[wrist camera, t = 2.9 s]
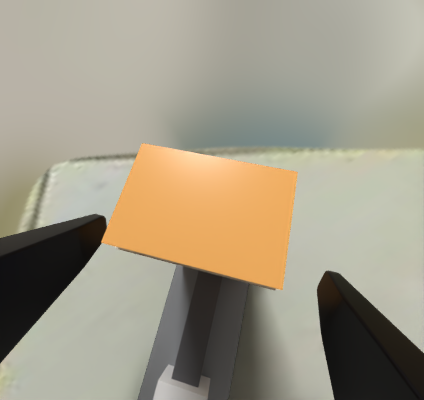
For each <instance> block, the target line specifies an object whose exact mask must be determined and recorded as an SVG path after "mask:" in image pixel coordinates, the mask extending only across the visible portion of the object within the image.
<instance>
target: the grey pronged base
mask: <svg viewBox="0 0 424 400" xmlns="http://www.w3.org/2000/svg"><path fill="white" fill-rule="evenodd" d="M248 286H249V283H245V282H241V281H237V280H234V279H230V278H226V277H222V276H218V275H215V274H211V273H207V272H203V271H199V270H196V269H192V268H188V267H184V266H180V265H176V269H175V272H174V276H173V279H172V283H171V286H170V289H169V293H168V296H167V300H166V303H165V307H164V310H163V314H162V317H161V320H160V324H159V327H158V331H157V334H156V338H155V341H154V345H153V348H152V352H151V355H150V358H149V362H148V365H147V369H146V372H145V376H144V379H143V383H142V386H141V389H140V393H139V396H138V400H228V399H229V393H230V387H231V382H232V376H233V370H234V365H235V359H236V354H237V348H238V342H239V337H240V331H241V326H242V320H243V314H244V309H245V303H246V298H247V292H248Z"/></svg>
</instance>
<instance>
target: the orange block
mask: <svg viewBox="0 0 424 400" xmlns="http://www.w3.org/2000/svg"><path fill="white" fill-rule="evenodd" d="M297 173H298V172H295V171H289V170H284V169H279V168H273V167H268V166H263V165H257V164H252V163H246V162H241V161H236V160H230V159H225V158H220V157H214V156H209V155H203V154H198V153H193V152H187V151H182V150H176V149H171V148H166V147H160V146H155V145H149V144H144V143H142V145H141V147H140V150H139V152H138V154H137V157H136V159H135V162H134V164H133V166H132V169H131V171H130V174H129V176H128V178H127V181H126V183H125V186H124V188H123V190H122V193H121V195H120V198H119V200H118V202H117V205H116V207H115V210H114V212H113V215H112V217H111V219H110V222H109V224H108V227H107V229H106V231H105V234H104V236H103V239H102V241H101V243H105V244H108V245H112V246H116V249H120V250H124V251H127V252H131V253H135V254H139V255H142V256H146V257H150V258H154V259H158V260H161V261H165V262H169V263H173V264H177V265H180V266H184V267H188V268H192V269H196V270H199V271H203V272H207V273H211V274H215V275H218V276H222V277H226V278H230V279H234V280H237V281H241V282H245V283H249V284H253V285H256V286H260V287H264V288H268V289H272V290H276V289H280V290H283V282H284V274H285V267H286V259H287V251H288V243H289V236H290V228H291V220H292V212H293V204H294V197H295V189H296V181H297Z"/></svg>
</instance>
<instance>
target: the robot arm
mask: <svg viewBox="0 0 424 400" xmlns="http://www.w3.org/2000/svg"><path fill="white" fill-rule="evenodd" d="M106 229H107V225H106V218H105V217H104V216H102V215H98V214H93V215H89V216H85V217H81V218H77V219H73V220H69V221H65V222H61V223H57V224H53V225H50V226H46V227H42V228H38V229H34V230H30V231H26V232H22V233H18V234H14V235H11V236H7V237H3V238H0V363H1V362H2V361H3V360H4V358H5V357H6V356H7V355H8V354H9V353H10V352H11V350H12V349H13V348H14V347H15V346H16V345H17V344H18V342H19V341H20V340H21V339H22V338H23V337H24V336H25V334H26V333H27V332H28V331H29V330H30V329H31V328H32V326H33V325H34V324H35V323H36V322H37V321H38V320H39V318H40V317H41V316H42V315H43V314H44V313H45V312H46V310H47V309H48V308H49V307H50V306H51V305H52V304H53V302H54V301H55V300H56V299H57V298H58V297H59V296H60V294H61V293H62V292H63V291H64V290H65V289H66V288H67V286H68V285H69V284H70V283H71V282H72V281H73V280H74V278H75V277H76V276H77V275H78V274H79V273H80V271H81V270H82V269H83V268H84V267H85V265H86V264H87V263H88V261H89V260H90V259H91V257H92V256H93V254H94V253H95V252H96V250H97V249H98V247H99V246H100V245H101V241H102V239H103V236H104V234H105V231H106ZM317 297H318V307H319V318H320V328H321V335H322V341H323V346H324V351H325V356H326V360H327V365H328V370H329V375H330V380H331V385H332V390H333V394H334V399H335V400H424V353H423V352H422V351H421V350H420V349H419V348H418V347H417V346H416V345H415V344H413V343H412V342H411V341H410V340H409V339H408V338H407V337H406V336H405V335H404V334H403V333H402V332H401V331H400V330H399V329H398V328H397V327H395V326H394V325H393V324H392V323H391V322H390V321H389V320H388V319H387V318H386V317H385V316H384V315H383V314H382V313H381V312H380V311H379V310H377V309H376V308H375V307H374V306H373V305H372V304H371V303H370V302H369V301H368V300H367V299H366V298H365V297H364V296H363V295H362V294H361V293H359V292H358V291H357V290H356V289H355V288H354V287H353V286H352V285H351V284H350V283H349V282H348V281H347V280H346V279H345V278H344V277H343V276H341V275H340V274H339V273H337V272H333V271H326V272H325V273H324V275H323V277H322V279H321V281H320V283H319V285H318V288H317Z"/></svg>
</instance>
